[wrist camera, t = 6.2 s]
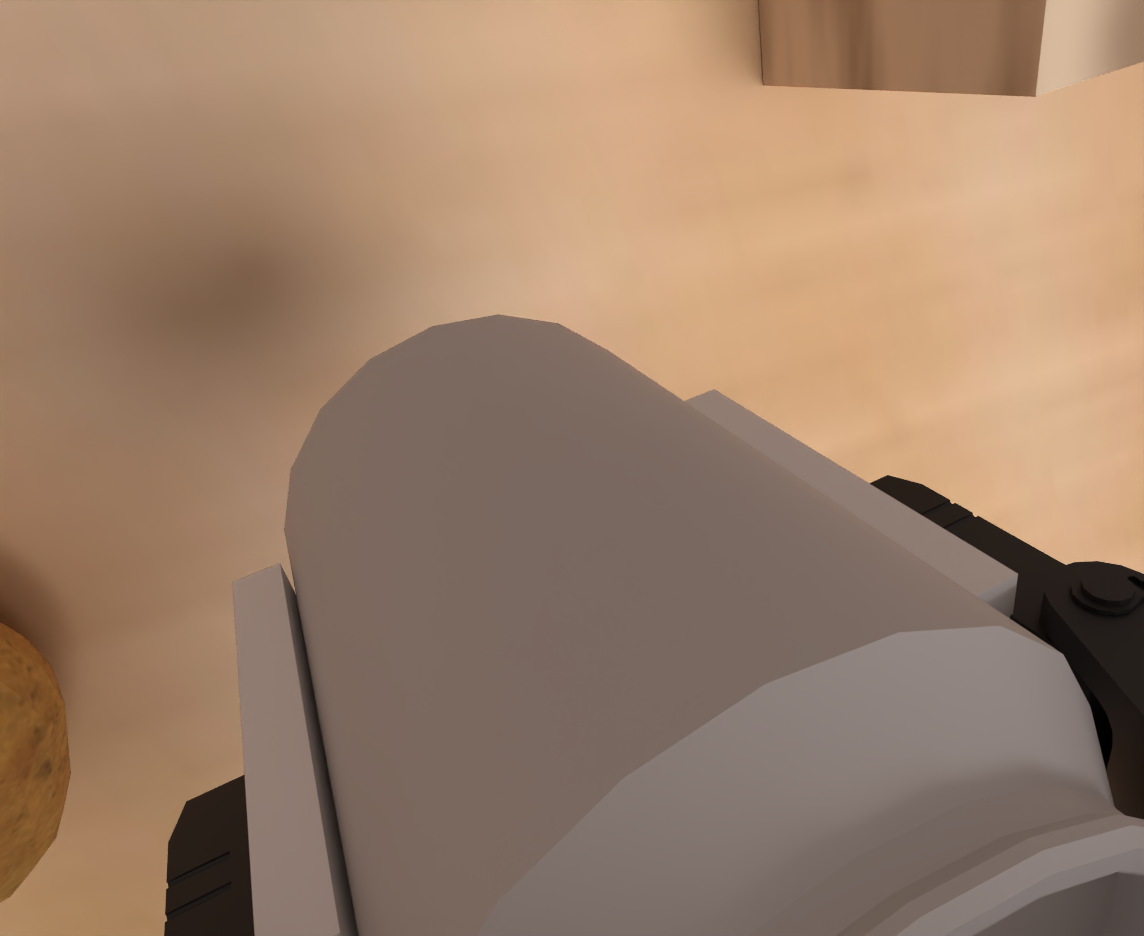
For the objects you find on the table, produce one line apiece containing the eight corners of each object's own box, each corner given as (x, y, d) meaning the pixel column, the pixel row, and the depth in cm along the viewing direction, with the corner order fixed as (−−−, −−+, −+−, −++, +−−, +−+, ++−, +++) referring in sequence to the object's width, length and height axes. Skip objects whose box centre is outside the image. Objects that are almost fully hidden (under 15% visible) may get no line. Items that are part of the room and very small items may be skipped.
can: (263, 304, 13) (476, 1085, 3) (660, 300, 16) (1444, 678, 6) (293, 668, 16) (445, 1645, 6) (619, 608, 19) (1084, 1195, 9)
